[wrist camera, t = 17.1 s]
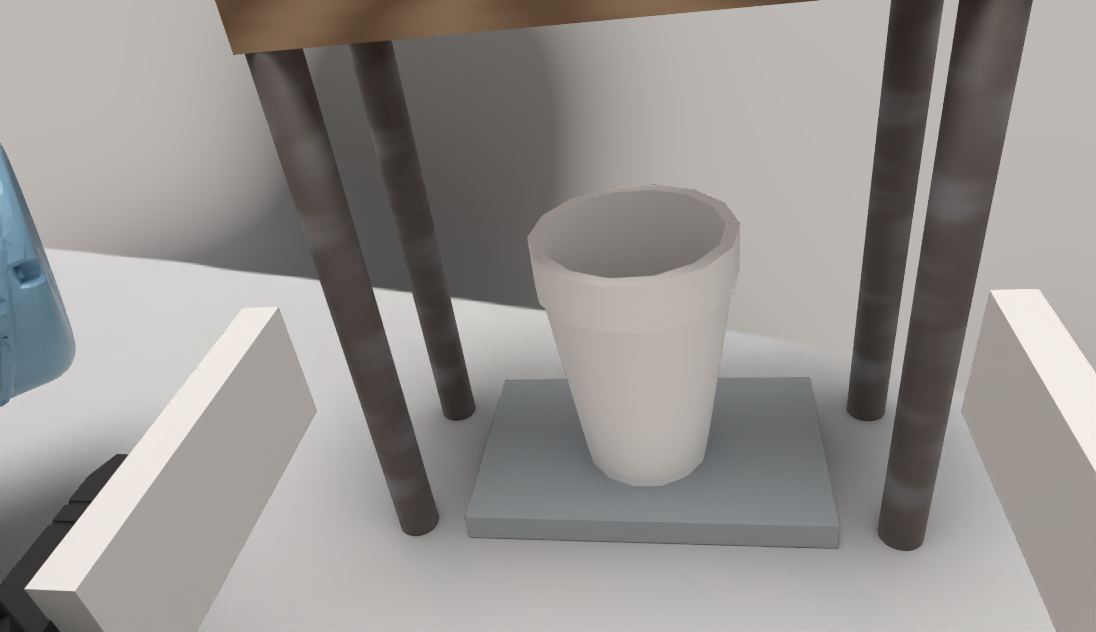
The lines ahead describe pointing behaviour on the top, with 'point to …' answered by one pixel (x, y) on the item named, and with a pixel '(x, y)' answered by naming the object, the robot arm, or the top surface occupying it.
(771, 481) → the shelf board
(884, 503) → the wooden top stool
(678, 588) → the top surface
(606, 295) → the foam cup
